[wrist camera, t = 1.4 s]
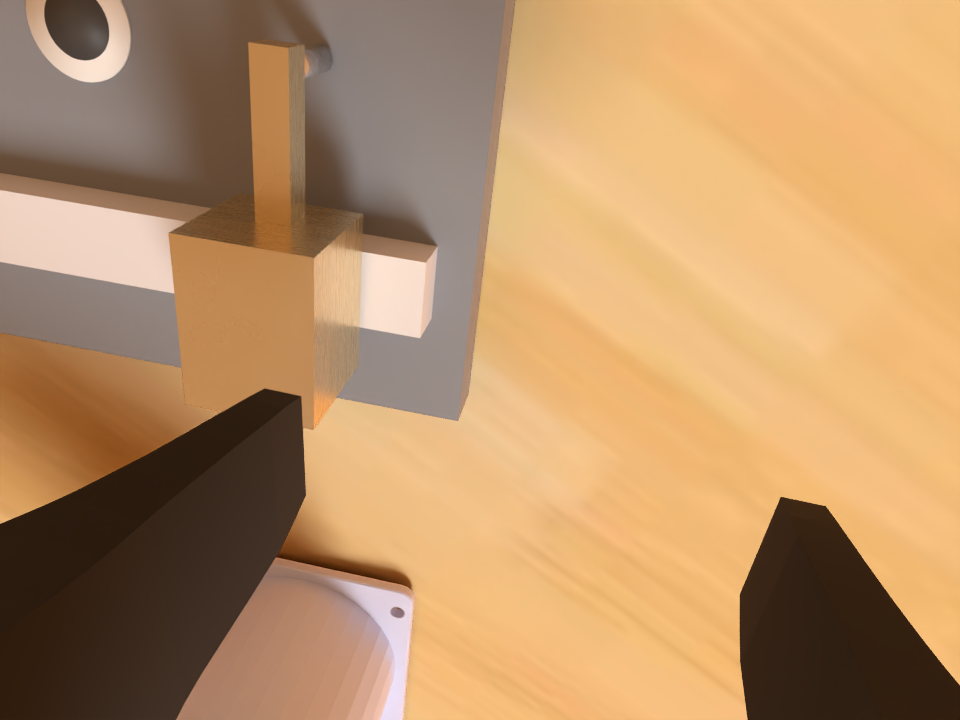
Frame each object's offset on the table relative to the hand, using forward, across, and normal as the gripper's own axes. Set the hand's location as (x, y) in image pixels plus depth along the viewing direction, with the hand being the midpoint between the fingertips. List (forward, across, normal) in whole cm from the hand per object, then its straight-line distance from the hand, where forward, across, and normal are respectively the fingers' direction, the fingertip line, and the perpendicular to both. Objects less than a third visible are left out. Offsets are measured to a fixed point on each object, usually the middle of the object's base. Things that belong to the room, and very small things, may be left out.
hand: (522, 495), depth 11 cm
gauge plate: (+9, +14, -1) cm, 17 cm away
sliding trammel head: (+8, +7, -1) cm, 10 cm away
